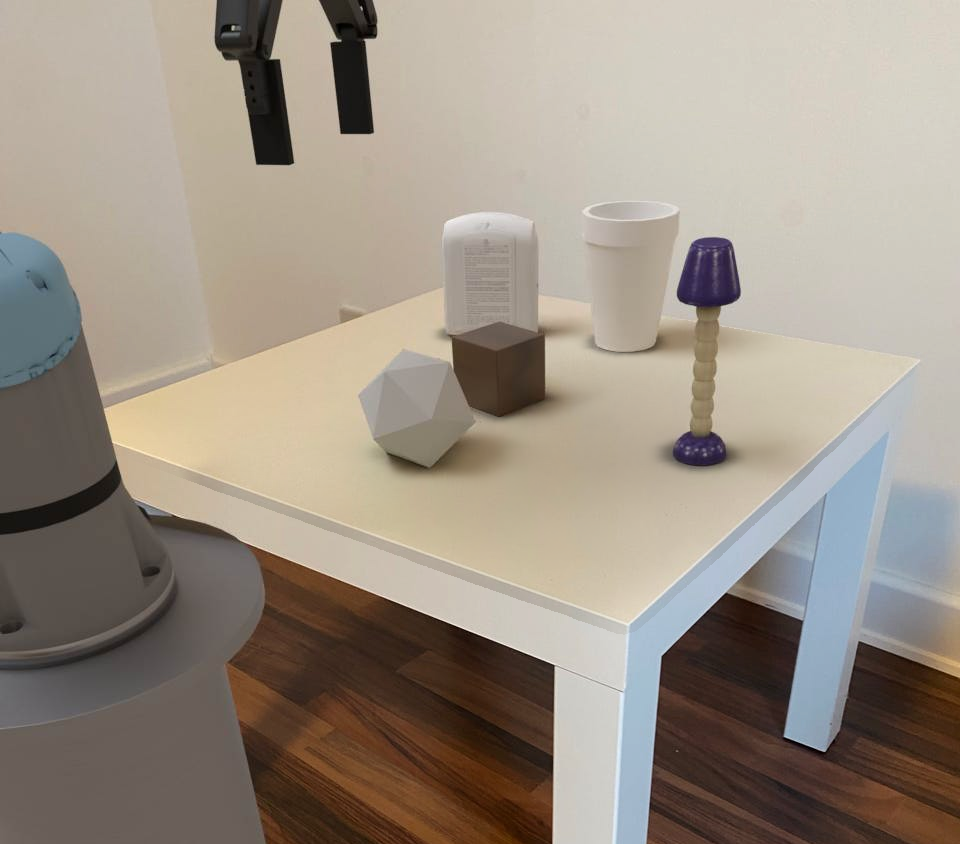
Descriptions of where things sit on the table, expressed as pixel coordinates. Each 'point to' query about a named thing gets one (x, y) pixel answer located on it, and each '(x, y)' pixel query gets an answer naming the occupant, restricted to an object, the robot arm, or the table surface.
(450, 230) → the white boxy piece
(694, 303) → the toy lamp
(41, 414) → the robot arm
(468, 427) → the die
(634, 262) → the foam cup
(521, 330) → the walnut block
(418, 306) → the table surface
